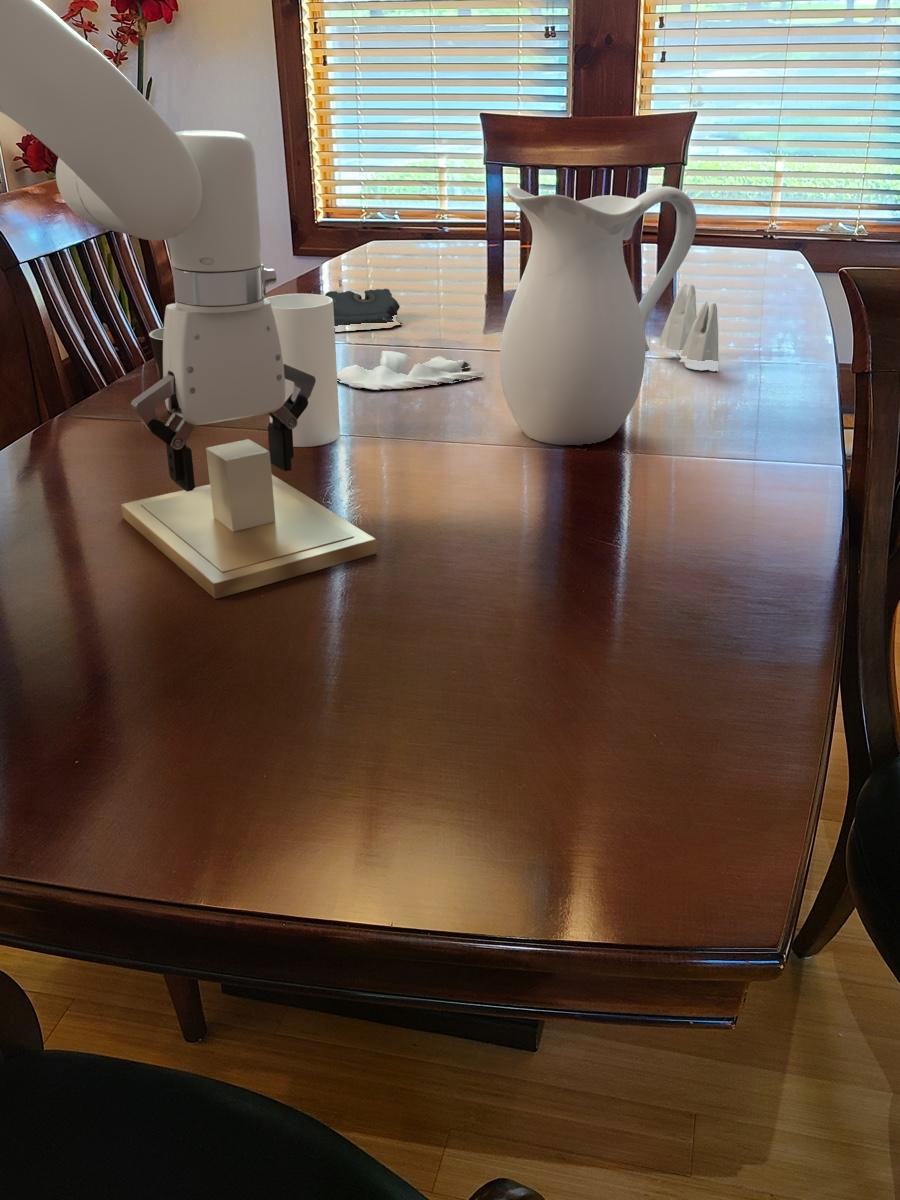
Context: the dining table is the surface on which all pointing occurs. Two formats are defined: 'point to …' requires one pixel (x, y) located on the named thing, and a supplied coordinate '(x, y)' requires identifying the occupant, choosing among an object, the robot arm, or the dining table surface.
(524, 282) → the pitcher
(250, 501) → the block
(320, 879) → the dining table surface
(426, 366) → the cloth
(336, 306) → the dark slate chunk
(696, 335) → the shaker set
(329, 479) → the dining table surface
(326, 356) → the cup
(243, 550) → the serving board
